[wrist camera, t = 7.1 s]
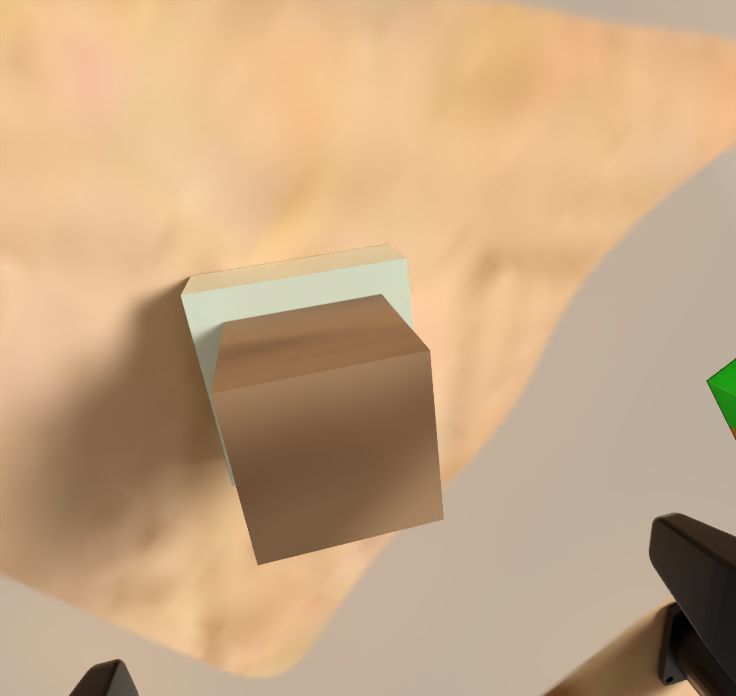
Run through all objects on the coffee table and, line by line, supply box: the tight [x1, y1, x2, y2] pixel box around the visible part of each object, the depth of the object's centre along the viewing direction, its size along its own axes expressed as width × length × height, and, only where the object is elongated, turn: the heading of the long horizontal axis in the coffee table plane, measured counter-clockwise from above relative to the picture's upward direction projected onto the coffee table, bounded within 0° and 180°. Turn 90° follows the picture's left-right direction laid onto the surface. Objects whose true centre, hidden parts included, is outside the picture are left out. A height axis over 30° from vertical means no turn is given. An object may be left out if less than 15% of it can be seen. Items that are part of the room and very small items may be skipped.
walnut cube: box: [210, 294, 444, 565], centre depth 15 cm, size 5×5×5 cm
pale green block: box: [181, 244, 414, 486], centre depth 18 cm, size 7×7×2 cm
